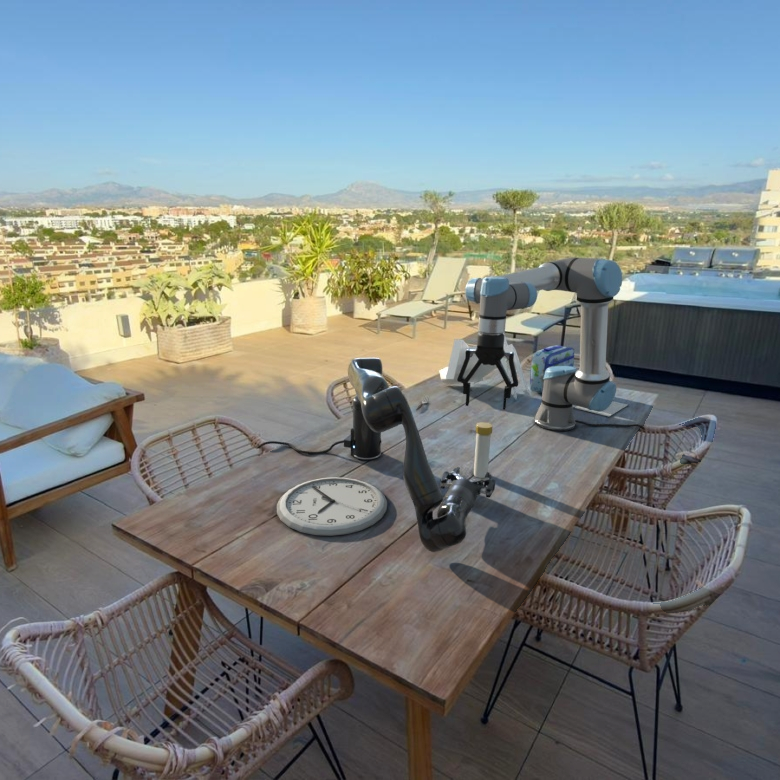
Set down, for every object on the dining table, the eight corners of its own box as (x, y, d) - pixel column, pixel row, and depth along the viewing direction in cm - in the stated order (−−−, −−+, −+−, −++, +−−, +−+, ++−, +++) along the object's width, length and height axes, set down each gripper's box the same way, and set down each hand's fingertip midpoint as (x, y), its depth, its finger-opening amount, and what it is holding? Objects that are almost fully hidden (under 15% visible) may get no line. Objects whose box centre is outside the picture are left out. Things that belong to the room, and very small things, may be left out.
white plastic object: (461, 429, 252) (437, 405, 227) (444, 352, 274) (420, 323, 250) (535, 404, 240) (518, 377, 215) (510, 326, 262) (492, 293, 237)
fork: (413, 411, 216) (413, 406, 216) (424, 399, 231) (424, 395, 230) (419, 411, 216) (419, 407, 215) (429, 400, 230) (429, 396, 229)
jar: (483, 479, 159) (487, 430, 154) (471, 475, 161) (474, 426, 157) (489, 474, 163) (493, 425, 158) (477, 470, 165) (480, 422, 160)
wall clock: (392, 527, 129) (268, 531, 127) (391, 533, 130) (269, 537, 127) (383, 473, 158) (282, 475, 155) (383, 478, 158) (282, 480, 156)
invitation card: (608, 416, 214) (573, 407, 224) (608, 416, 214) (573, 408, 224) (628, 404, 229) (594, 396, 238) (628, 405, 229) (594, 397, 238)
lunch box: (546, 398, 236) (551, 353, 229) (525, 393, 243) (529, 349, 237) (573, 387, 253) (579, 344, 247) (553, 382, 260) (558, 341, 254)
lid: (487, 436, 154) (488, 429, 154) (472, 432, 157) (473, 425, 156) (494, 431, 158) (495, 424, 158) (479, 428, 161) (480, 421, 160)
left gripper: (488, 491, 131) (499, 464, 145) (433, 481, 136) (449, 456, 150) (486, 517, 133) (497, 489, 148) (432, 506, 138) (448, 479, 152)
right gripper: (532, 332, 149) (525, 406, 156) (453, 327, 155) (449, 398, 161) (532, 338, 142) (524, 414, 149) (449, 332, 148) (445, 406, 155)
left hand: (473, 472), depth 149 cm, fingers open, 8 cm apart
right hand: (485, 406), depth 155 cm, fingers open, 10 cm apart
